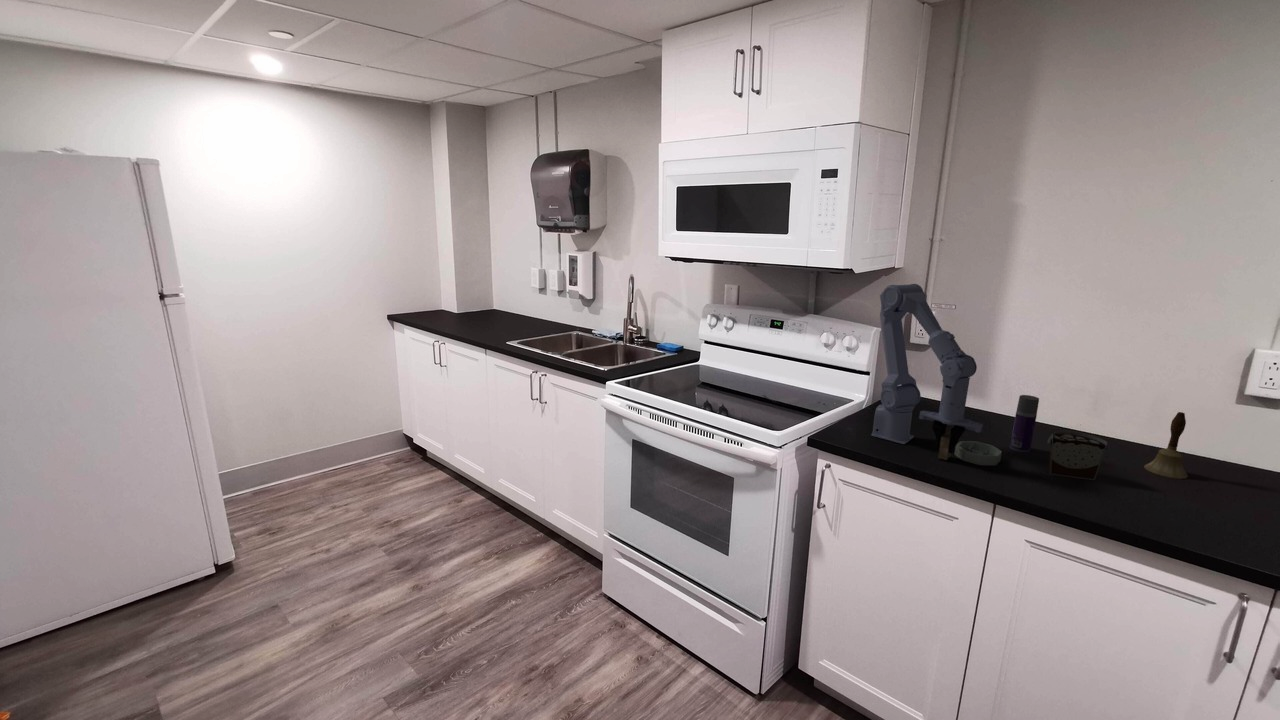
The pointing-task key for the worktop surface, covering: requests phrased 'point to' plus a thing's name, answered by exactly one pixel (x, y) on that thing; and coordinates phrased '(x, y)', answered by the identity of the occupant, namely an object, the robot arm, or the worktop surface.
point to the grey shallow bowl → (978, 453)
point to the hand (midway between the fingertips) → (945, 450)
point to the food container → (1076, 454)
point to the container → (1024, 423)
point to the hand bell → (1170, 453)
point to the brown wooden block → (944, 446)
